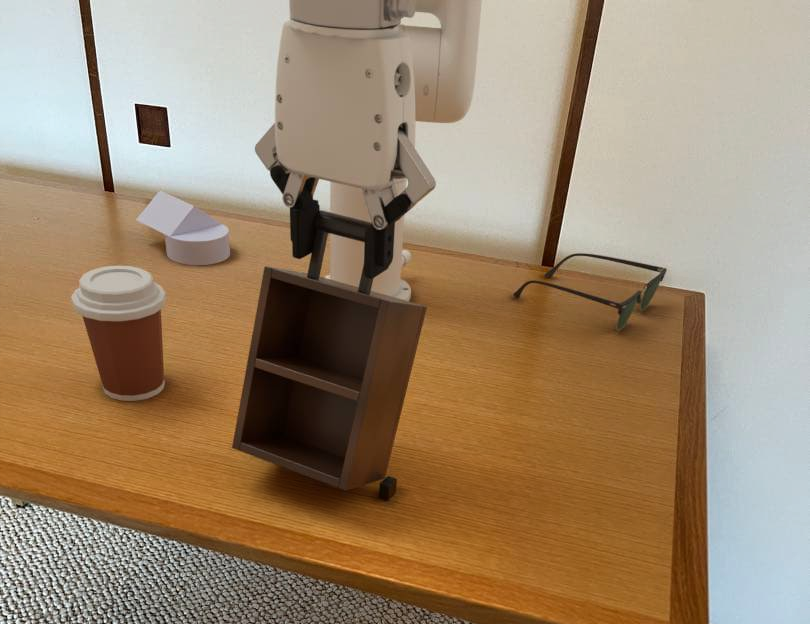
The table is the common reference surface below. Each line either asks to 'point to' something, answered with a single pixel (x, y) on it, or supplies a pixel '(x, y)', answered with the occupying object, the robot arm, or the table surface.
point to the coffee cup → (124, 329)
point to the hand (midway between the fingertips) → (340, 261)
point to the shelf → (327, 369)
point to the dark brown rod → (387, 488)
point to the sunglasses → (623, 308)
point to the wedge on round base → (187, 231)
